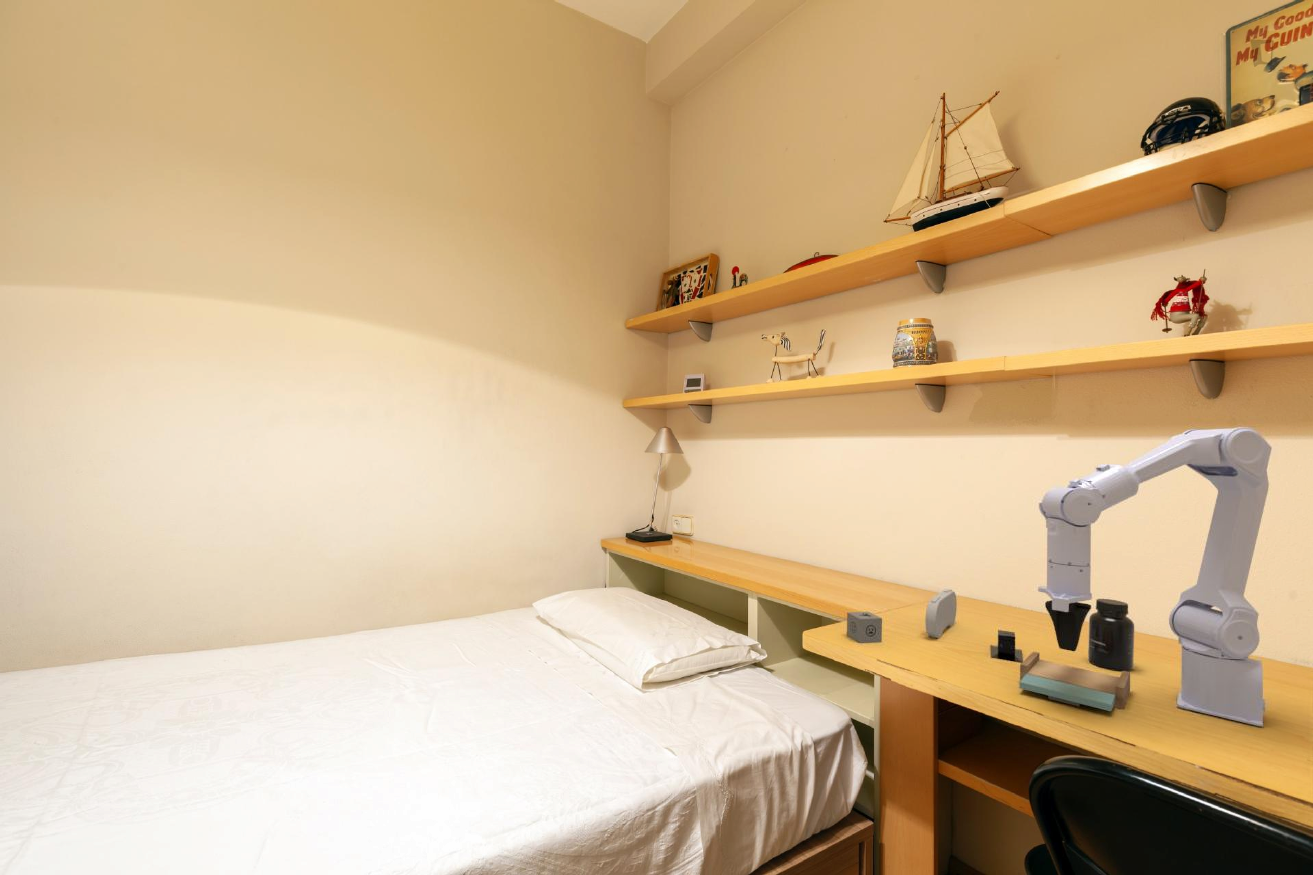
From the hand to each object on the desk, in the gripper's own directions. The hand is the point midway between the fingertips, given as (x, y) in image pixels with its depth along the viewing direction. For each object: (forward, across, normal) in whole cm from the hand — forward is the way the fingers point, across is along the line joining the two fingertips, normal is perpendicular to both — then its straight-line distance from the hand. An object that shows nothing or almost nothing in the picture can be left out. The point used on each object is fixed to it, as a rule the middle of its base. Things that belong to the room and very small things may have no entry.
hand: (1067, 649), depth 95 cm
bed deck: (+8, -9, 0) cm, 12 cm away
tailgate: (+6, -3, 0) cm, 7 cm away
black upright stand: (+9, -20, -13) cm, 25 cm away
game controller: (+9, -27, -27) cm, 39 cm away
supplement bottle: (+9, -28, +3) cm, 29 cm away
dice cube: (+9, -8, -36) cm, 38 cm away
